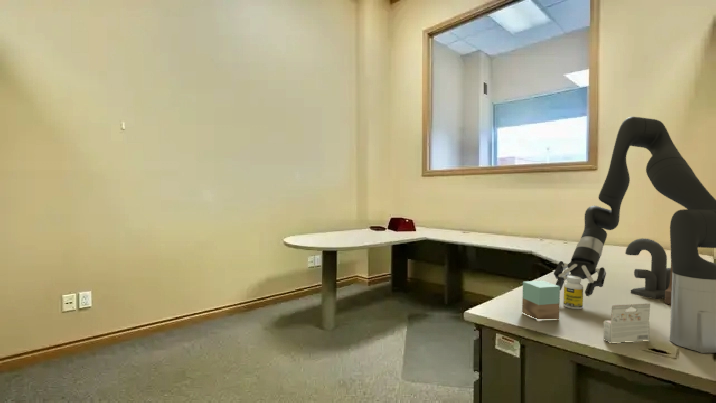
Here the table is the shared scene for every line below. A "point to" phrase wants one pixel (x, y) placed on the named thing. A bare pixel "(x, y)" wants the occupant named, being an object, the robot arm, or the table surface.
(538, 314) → the tower bottom block
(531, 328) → the table surface
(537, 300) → the tower top block
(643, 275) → the faucet
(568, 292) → the supplement bottle
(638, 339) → the ink cartridge box
